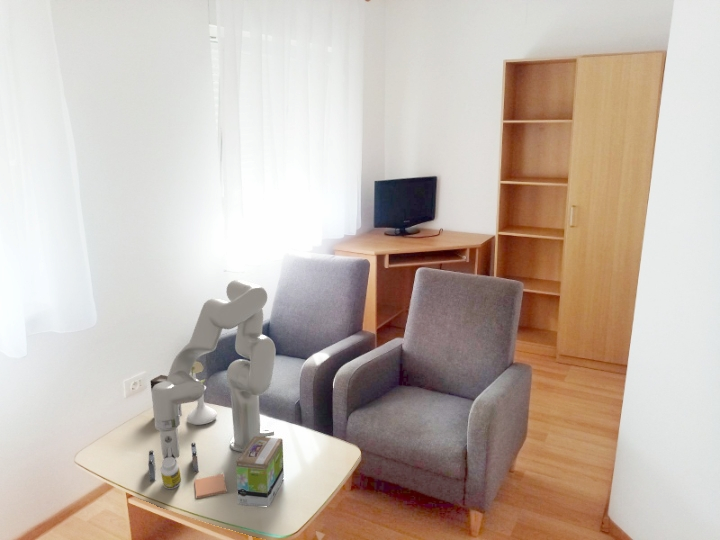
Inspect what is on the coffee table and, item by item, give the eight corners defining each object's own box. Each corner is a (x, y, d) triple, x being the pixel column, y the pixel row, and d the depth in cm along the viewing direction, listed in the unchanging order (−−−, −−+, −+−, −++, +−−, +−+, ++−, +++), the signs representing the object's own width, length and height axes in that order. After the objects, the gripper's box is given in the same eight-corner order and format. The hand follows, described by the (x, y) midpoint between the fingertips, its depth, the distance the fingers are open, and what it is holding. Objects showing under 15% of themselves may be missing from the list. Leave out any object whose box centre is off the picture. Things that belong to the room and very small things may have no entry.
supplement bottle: (174, 491, 171) (170, 471, 166) (160, 486, 172) (155, 466, 167) (184, 478, 175) (181, 457, 170) (170, 472, 177) (166, 452, 171)
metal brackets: (197, 458, 188) (195, 441, 186) (198, 471, 181) (196, 453, 179) (150, 468, 183) (148, 450, 182) (150, 481, 176) (148, 463, 174)
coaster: (223, 476, 178) (223, 473, 178) (226, 492, 170) (226, 489, 170) (194, 482, 175) (194, 479, 175) (196, 498, 167) (196, 496, 167)
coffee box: (153, 418, 217) (149, 380, 213) (164, 410, 223) (160, 374, 219) (172, 421, 214) (168, 383, 210) (182, 414, 220) (179, 377, 216)
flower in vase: (223, 416, 218) (218, 357, 212) (205, 429, 207) (200, 368, 202) (196, 410, 222) (190, 353, 216) (177, 424, 212) (171, 364, 206)
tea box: (269, 508, 162) (266, 464, 158) (237, 505, 164) (234, 461, 160) (285, 478, 176) (282, 437, 173) (255, 475, 178) (252, 434, 175)
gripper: (180, 430, 167) (184, 483, 171) (179, 408, 181) (183, 458, 185) (154, 434, 165) (159, 488, 169) (155, 412, 178) (160, 462, 182)
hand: (172, 472), depth 177 cm, fingers closed
